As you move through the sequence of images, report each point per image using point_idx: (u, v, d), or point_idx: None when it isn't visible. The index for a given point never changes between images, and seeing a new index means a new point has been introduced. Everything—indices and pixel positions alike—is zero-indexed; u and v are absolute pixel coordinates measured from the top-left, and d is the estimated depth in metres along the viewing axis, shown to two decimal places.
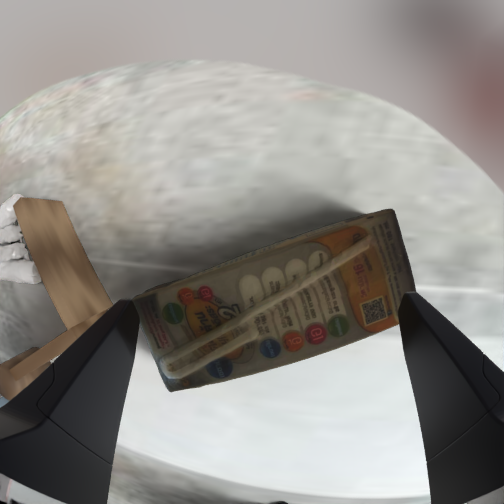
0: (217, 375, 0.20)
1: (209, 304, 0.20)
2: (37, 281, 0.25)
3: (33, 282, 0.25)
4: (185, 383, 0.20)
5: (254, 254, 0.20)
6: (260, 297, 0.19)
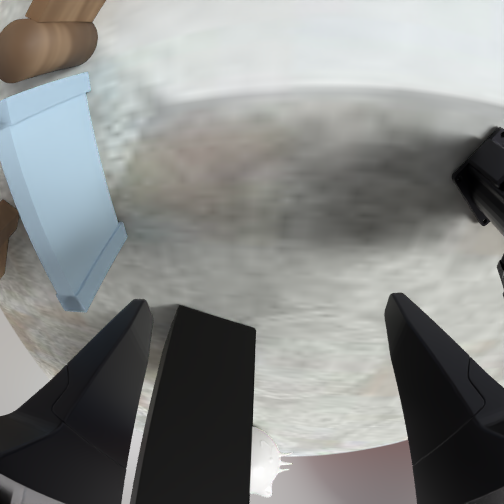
0: None
1: None
2: None
3: None
4: None
5: None
6: None
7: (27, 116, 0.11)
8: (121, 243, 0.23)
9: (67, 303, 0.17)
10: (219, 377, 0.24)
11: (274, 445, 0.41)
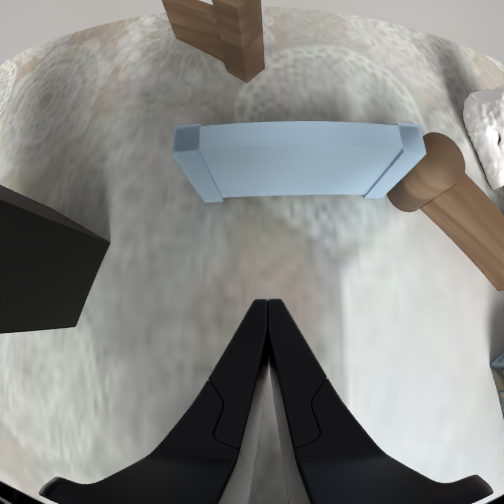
0: None
1: None
2: (497, 188, 0.21)
3: (496, 183, 0.21)
4: None
5: None
6: None
7: (395, 161, 0.16)
8: (204, 197, 0.22)
9: (186, 134, 0.15)
10: (37, 291, 0.17)
11: None
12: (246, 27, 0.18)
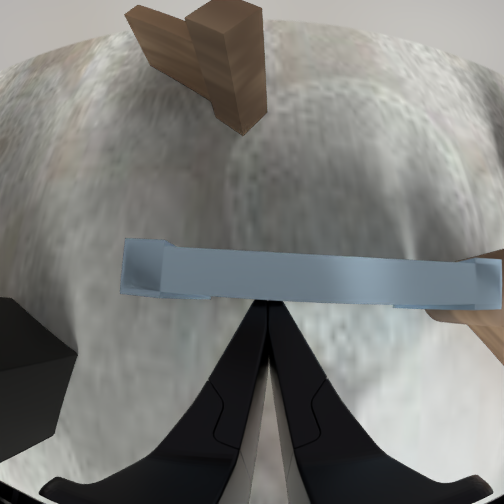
0: None
1: None
2: None
3: None
4: None
5: None
6: None
7: (456, 307, 0.10)
8: None
9: (142, 257, 0.10)
10: (2, 431, 0.11)
11: None
12: (240, 62, 0.13)
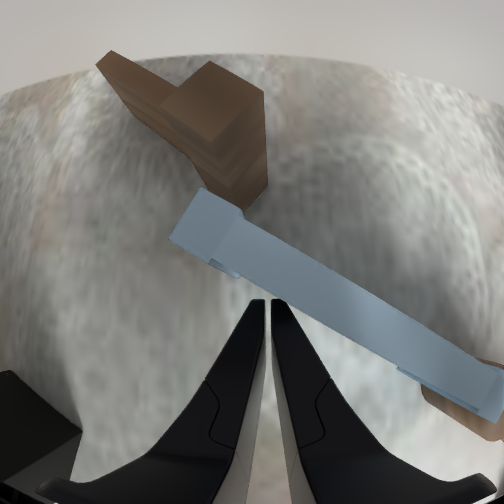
0: None
1: None
2: None
3: None
4: None
5: None
6: None
7: (459, 402, 0.09)
8: None
9: (209, 215, 0.09)
10: None
11: None
12: (235, 159, 0.11)
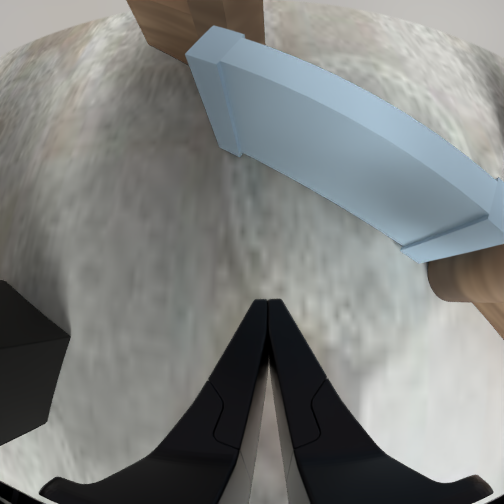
0: None
1: None
2: None
3: None
4: None
5: None
6: None
7: (468, 225, 0.09)
8: (219, 139, 0.16)
9: (219, 38, 0.09)
10: None
11: None
12: (239, 31, 0.12)
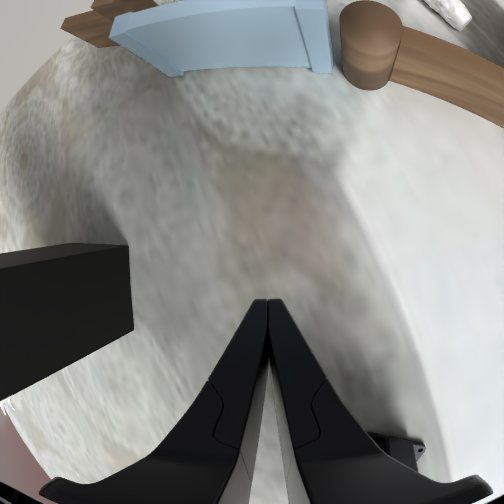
0: None
1: None
2: (461, 27, 0.15)
3: (458, 23, 0.15)
4: None
5: None
6: None
7: (300, 21, 0.13)
8: (164, 71, 0.22)
9: (121, 21, 0.15)
10: (81, 318, 0.20)
11: None
12: (136, 9, 0.16)
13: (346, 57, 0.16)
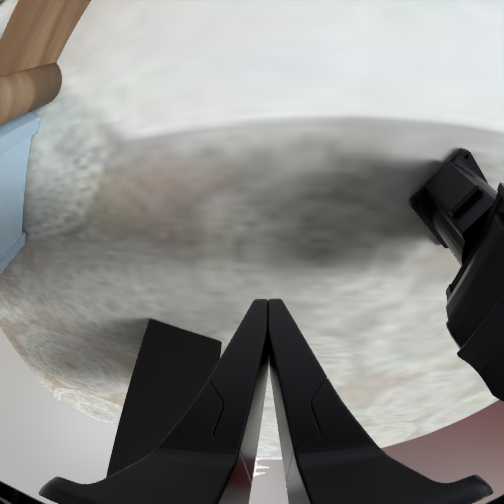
0: None
1: None
2: None
3: None
4: None
5: None
6: None
7: None
8: (18, 249, 0.23)
9: None
10: (183, 387, 0.26)
11: None
12: None
13: (19, 115, 0.14)
